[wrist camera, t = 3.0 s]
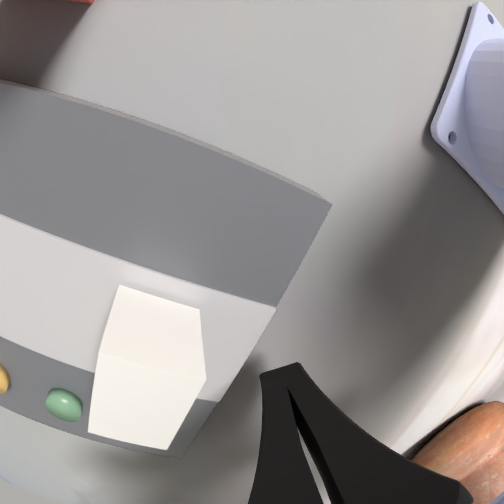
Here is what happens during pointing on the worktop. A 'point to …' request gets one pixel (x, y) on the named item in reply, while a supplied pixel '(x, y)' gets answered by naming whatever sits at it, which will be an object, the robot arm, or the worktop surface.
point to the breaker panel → (130, 248)
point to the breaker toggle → (146, 369)
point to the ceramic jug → (470, 451)
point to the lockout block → (84, 1)
